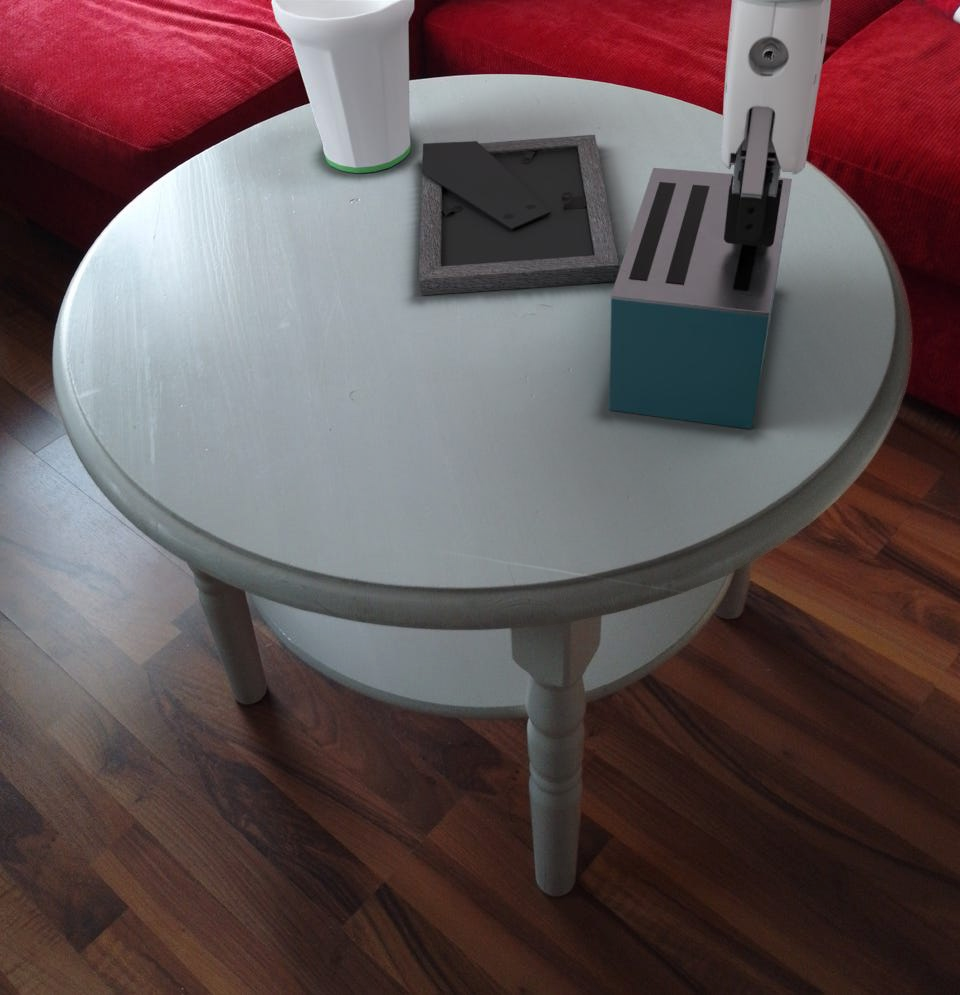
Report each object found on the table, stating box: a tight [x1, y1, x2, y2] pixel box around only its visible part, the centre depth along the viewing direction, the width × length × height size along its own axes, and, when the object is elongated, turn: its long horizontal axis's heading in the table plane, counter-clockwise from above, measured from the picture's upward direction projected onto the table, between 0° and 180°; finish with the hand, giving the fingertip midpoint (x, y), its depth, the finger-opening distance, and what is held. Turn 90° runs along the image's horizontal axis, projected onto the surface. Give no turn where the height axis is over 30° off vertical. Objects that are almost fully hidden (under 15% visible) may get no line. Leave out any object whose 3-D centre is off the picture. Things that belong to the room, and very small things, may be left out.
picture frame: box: [418, 134, 620, 296], centre depth 95 cm, size 16×2×21 cm
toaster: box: [608, 167, 793, 430], centre depth 78 cm, size 10×16×10 cm, turn 164°
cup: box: [271, 0, 415, 174], centre depth 100 cm, size 12×12×15 cm
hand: (749, 237), depth 72 cm, fingers closed
